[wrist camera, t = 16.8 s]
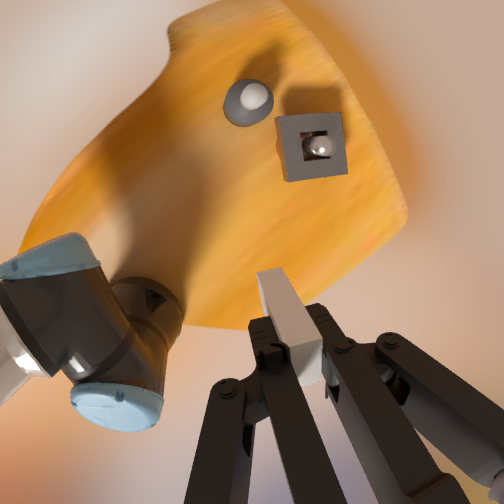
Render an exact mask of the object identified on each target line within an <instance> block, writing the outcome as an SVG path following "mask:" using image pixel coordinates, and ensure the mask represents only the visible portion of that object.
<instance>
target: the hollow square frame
mask: <svg viewBox="0 0 504 504" xmlns="http://www.w3.org/2000/svg"><path fill="white" fill-rule="evenodd" d="M274 119H275V125H276V131H277V137H278V144H279V150H280V157H281V164H282V170H283V177H284V180H285V181H287V182H294V181H300V180H307V179H314V178H321V177H328V176H336V175H344V174H348V169H347V159H346V150H345V141H344V133H343V126H342V119H341V112H334V113H312V114H298V115H286V116H278V117H276V118H274ZM314 131H320V132H321V136H330V137H332V138H333V139H334V140H335V142H336V151H335V152H334V154H332V155H331V156H324V158H315V159H307V160H304V159H303V151H302V144H301V137H300V133H302V132H314Z"/></svg>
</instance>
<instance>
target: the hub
mask: <svg viewBox="0 0 504 504" xmlns="http://www.w3.org/2000/svg"><path fill="white" fill-rule="evenodd" d="M300 137H301V144H302V151H303V159H304V160H307V159H315V158H324V156H331V155H332V154H334V152H335V151H336V142H335V140H334V139H333V138H332V137H330V136H321V132H320V131H314V132H302V133H300ZM276 147H277V153H278V155H279V157H280V150H279V144H278V137H277V141H276ZM280 159H281V157H280Z"/></svg>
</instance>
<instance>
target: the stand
mask: <svg viewBox="0 0 504 504" xmlns="http://www.w3.org/2000/svg"><path fill="white" fill-rule="evenodd" d="M273 104H274V100H273V95H272V92H271V91H270V89H269V88H268V87H267V86H266V85H265V84H264V83H262V82H260V81H257V80H253V79H245V80H241V81H239V82H237V83H235V84H234V85H232V87H231V88H230V89H229V91H228V93H227V95H226V98H225V101H224V105H223V110H224V114H225V116H226V118H227V119H228V120H229V121H230V122H231V123H232V124H234V125H236V126H240V127H248V126H252V125H254V124H256V123H258V122H260V121H261V120H263V119H265V118H266V117H267V116H268V115H269V114H270V112H271V111H272V108H273Z"/></svg>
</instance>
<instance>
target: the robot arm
mask: <svg viewBox="0 0 504 504" xmlns="http://www.w3.org/2000/svg"><path fill="white" fill-rule="evenodd" d="M100 265H101V263H100V261H99V260H97V259H96V257H95V255H94V253H93V252H92V250H91V248H90V246H89V244H88V242H87V240H86V239H85V238H84V237H83V236H82V235H81V234H79V233H68V234H65V235H62V236H59V237H57V238H54V239H52V240H49V241H47V242H45V243H42V244H40V245H38V246H36V247H33V248H31V249H29V250H27V251H25V252H23V253H21V254H19V255H17V256H15V257H13V258H12V259H10V260H8V261H6V262H4V263H2V264H1V265H0V279H2V280H1V281H0V408H1V407H2V406H3V405H4V404H5V403H6V402H7V401H8V400H9V399H10V398H11V397H12V396H13V395H14V394H15V393H16V392H17V391H18V390H19V389H20V388H21V387H22V386H23V385H24V384H25V383H26V382H27V381H28V380H29V379H30V378H31V377H40V378H48V379H51V378H52V377H53V376H54V375H55V374H56V373H57V372H58V371H59V370H60V369H61V370H62V371H63V372H64V374H65V375H66V376H67V377H68V378H69V379H70V381H71V382H72V383H73V385H74V387H73V388H72V389H71V391H70V394H71V397H70V398H71V404H72V406H73V407H74V409H75V410H76V411H77V412H78V413H79V414H80V415H81V416H83V417H84V418H86V419H87V420H89V421H91V422H93V423H95V424H97V425H99V426H102V427H105V428H108V429H112V430H116V431H124V432H139V431H144V430H147V429H149V428H152V427H153V426H154V425H155V424H156V423H157V422H158V421H159V419H160V415H161V411H162V406H163V404H164V399H163V392H164V382H165V373H166V365H167V356H168V351H169V350H170V348H171V347H172V345H173V344H174V343H175V341H176V340H177V339H178V337H179V335H180V332H181V328H182V310H181V307H180V305H179V303H178V301H177V299H176V298H175V296H174V295H173V294H172V293H171V292H170V291H169V290H168V289H167V288H165V287H164V286H162V285H161V284H159V283H157V282H155V281H153V280H150V279H146V278H140V277H131V278H125V279H122V280H120V281H118V282H116V283H115V284H113V285H112V286H110V284H109V282H108V280H107V278H106V276H105V274H104V272H103V270H102V268H101V266H100ZM256 274H257V280H258V285H259V291H260V297H261V303H262V308H263V312H264V315H265V317H262V318H257V319H253V320H250V323H249V326H248V330H249V334H250V339H251V343H252V347H253V352H254V356H255V360H256V368H255V370H254V372H253V373H252V374H251V375H250V376H248V377H246V378H245V379H242V380H240V381H239V380H237V379H233V378H227V379H222V380H221V381H218V382H217V383H216V384H215V385H213V387H212V389H211V391H210V395H209V400H208V404H207V408H206V412H205V416H204V420H203V424H202V428H201V432H200V437H199V441H198V445H197V449H196V453H195V457H194V462H193V466H192V470H191V474H190V478H189V483H188V487H187V491H186V496H185V500H184V504H247V503H248V494H249V485H250V476H251V467H252V457H253V447H254V437H255V425H256V423H257V422H259V421H261V420H263V419H265V418H267V417H269V416H270V420H271V424H272V427H273V431H274V435H275V439H276V442H277V446H278V450H279V453H280V457H281V460H282V464H283V468H284V471H285V475H286V478H287V482H288V486H289V489H290V493H291V496H292V499H293V502H294V504H347V502H346V499H345V497H344V494H343V491H342V489H341V486H340V484H339V481H338V479H337V477H336V474H335V471H334V469H333V467H332V464H331V461H330V459H329V457H328V454H327V452H326V449H325V446H324V444H323V441H322V439H321V436H320V434H319V431H318V429H317V426H316V424H315V422H314V419H313V416H312V414H311V411H310V409H309V406H308V404H307V401H306V399H305V396H304V393H303V391H302V388H301V387H302V386H306V385H309V384H313V383H316V382H319V381H322V374H323V376H324V378H325V380H326V387H325V398H326V399H327V398H328V394H329V396H330V399H331V401H332V403H333V405H334V407H335V409H336V411H337V414H338V416H339V418H340V420H341V422H342V424H343V426H344V428H345V431H346V433H347V435H348V437H349V439H350V441H351V443H352V446H353V448H354V450H355V452H356V454H357V457H358V459H359V461H360V463H361V465H362V468H363V470H364V472H365V474H366V476H367V478H368V481H369V483H370V485H371V487H372V489H373V491H374V494H375V496H376V498H377V500H378V502H379V504H470V502H469V500H468V498H467V497H466V495H465V494H464V491H463V490H462V488H461V486H460V485H459V483H458V481H457V480H456V479H455V477H454V476H452V475H451V474H449V473H443V472H442V471H440V469H439V468H438V466H437V465H436V463H435V462H434V460H433V458H432V456H431V455H430V453H429V452H428V450H427V448H426V447H425V445H424V443H423V442H422V440H421V439H420V437H419V435H418V434H417V433H416V431H415V429H416V430H417V431H418V432H419V433H421V434H422V435H423V436H424V437H425V438H426V439H427V440H428V441H429V442H431V443H432V444H433V445H434V446H435V447H436V448H437V449H438V450H439V451H441V452H442V453H443V454H444V455H445V456H446V457H447V458H448V459H450V460H451V461H452V462H453V463H454V464H455V465H456V466H457V467H459V468H460V469H461V470H462V471H463V472H464V473H465V474H467V475H468V476H469V477H470V478H471V479H473V480H474V481H476V482H477V483H479V484H481V485H483V486H486V487H489V488H491V489H490V490H489V493H488V498H489V499H490V500H495V501H497V502H499V504H504V410H503V409H502V408H501V407H499V406H498V405H497V404H495V403H494V402H493V401H491V400H490V399H488V398H487V397H486V396H484V395H483V394H481V393H480V392H479V391H478V390H476V389H475V388H474V387H472V386H471V385H470V384H468V383H467V382H465V381H464V380H463V379H461V378H460V377H459V376H457V375H456V374H454V373H453V372H452V371H450V370H449V369H448V368H446V367H445V366H443V365H442V364H441V363H439V362H438V361H436V360H435V359H433V358H432V357H431V356H429V355H428V354H427V353H425V352H424V351H422V350H421V349H420V348H418V347H417V346H415V345H414V344H413V343H411V342H410V341H408V340H407V339H405V338H404V337H402V336H401V335H399V334H397V333H393V332H387V333H383V334H381V335H380V336H379V337H378V338H377V340H376V343H366V344H359V343H356V341H354V340H353V339H351V338H349V337H346V336H345V335H344V333H343V332H342V331H341V329H340V327H339V326H338V325H337V323H336V322H335V320H334V319H333V317H332V316H331V315H330V313H329V311H328V310H327V309H326V307H324V306H323V305H321V304H319V303H316V304H312V305H308V306H304V305H303V303H302V302H301V300H300V298H299V296H298V295H297V293H296V291H295V290H294V288H293V286H292V285H291V283H290V281H289V279H288V278H287V276H286V274H285V273H284V271H283V269H282V268H281V267H280V268H276V269H271V270H267V271H262V272H257V273H256ZM413 427H414V428H415V429H414V428H413Z"/></svg>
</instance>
